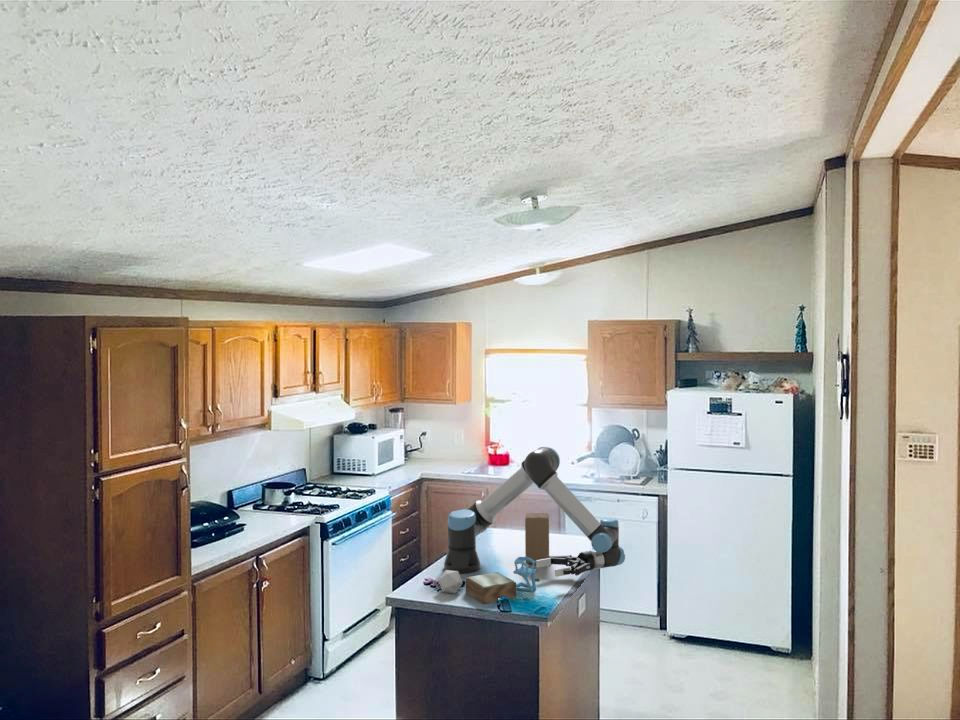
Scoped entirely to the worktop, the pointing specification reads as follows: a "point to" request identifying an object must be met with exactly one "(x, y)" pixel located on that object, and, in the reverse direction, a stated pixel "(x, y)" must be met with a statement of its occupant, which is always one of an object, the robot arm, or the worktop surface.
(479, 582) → the base block
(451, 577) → the die
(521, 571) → the chair
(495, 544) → the worktop surface
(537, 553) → the block
